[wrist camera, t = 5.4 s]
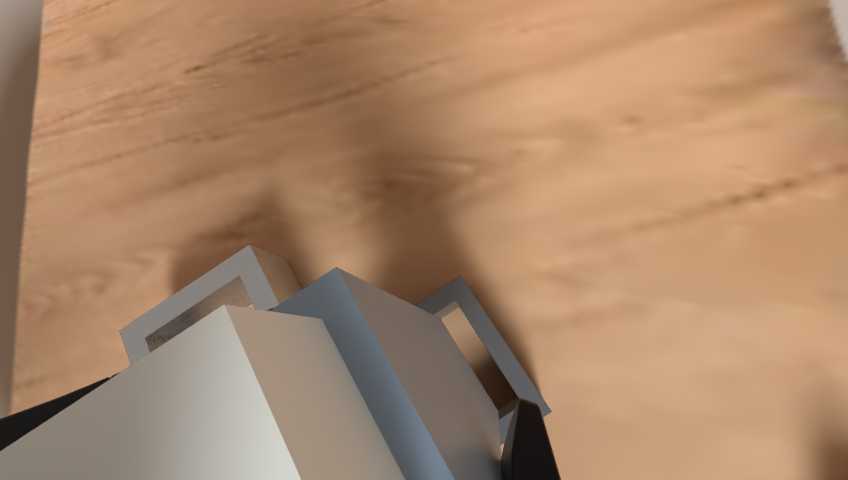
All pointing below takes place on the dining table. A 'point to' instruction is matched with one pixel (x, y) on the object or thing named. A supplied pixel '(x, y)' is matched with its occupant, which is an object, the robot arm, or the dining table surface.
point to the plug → (282, 400)
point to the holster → (486, 345)
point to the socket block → (213, 298)
